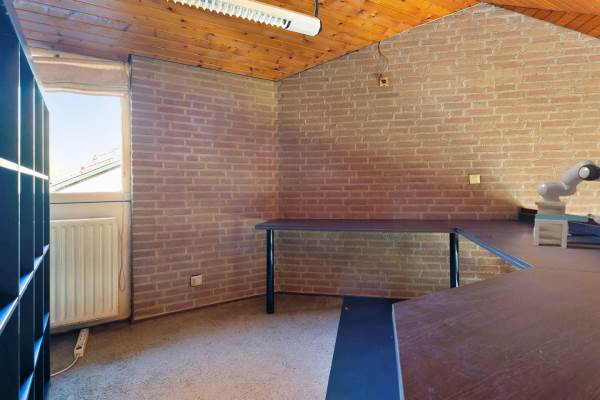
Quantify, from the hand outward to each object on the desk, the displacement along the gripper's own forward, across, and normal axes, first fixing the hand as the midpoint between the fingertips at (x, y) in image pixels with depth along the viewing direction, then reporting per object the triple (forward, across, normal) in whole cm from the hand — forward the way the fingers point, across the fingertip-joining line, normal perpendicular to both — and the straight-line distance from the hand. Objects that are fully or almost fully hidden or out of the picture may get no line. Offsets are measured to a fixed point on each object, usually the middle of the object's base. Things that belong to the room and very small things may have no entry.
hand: (589, 215), depth 178 cm
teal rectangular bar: (+9, 0, +10) cm, 13 cm away
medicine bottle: (+7, -28, +27) cm, 40 cm away
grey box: (+5, 0, +26) cm, 26 cm away
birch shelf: (+5, -13, +26) cm, 29 cm away
